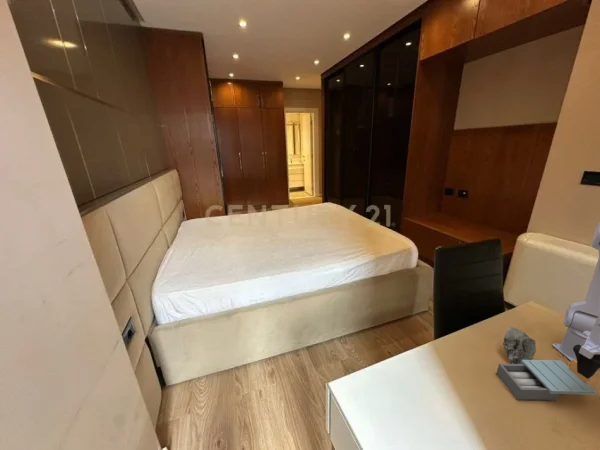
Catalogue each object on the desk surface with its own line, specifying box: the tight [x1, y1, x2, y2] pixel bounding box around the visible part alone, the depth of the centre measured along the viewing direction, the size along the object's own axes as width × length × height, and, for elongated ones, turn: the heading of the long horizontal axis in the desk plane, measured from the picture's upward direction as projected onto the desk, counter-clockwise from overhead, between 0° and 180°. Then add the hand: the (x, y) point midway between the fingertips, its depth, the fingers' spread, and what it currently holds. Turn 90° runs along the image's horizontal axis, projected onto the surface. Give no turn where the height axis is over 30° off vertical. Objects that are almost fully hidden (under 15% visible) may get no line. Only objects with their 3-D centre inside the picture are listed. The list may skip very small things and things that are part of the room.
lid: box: [520, 359, 597, 396], centre depth 67 cm, size 12×10×4 cm
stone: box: [502, 325, 537, 364], centre depth 79 cm, size 10×10×10 cm
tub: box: [495, 363, 560, 402], centre depth 69 cm, size 10×8×4 cm
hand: (593, 371), depth 62 cm, fingers open, 7 cm apart
